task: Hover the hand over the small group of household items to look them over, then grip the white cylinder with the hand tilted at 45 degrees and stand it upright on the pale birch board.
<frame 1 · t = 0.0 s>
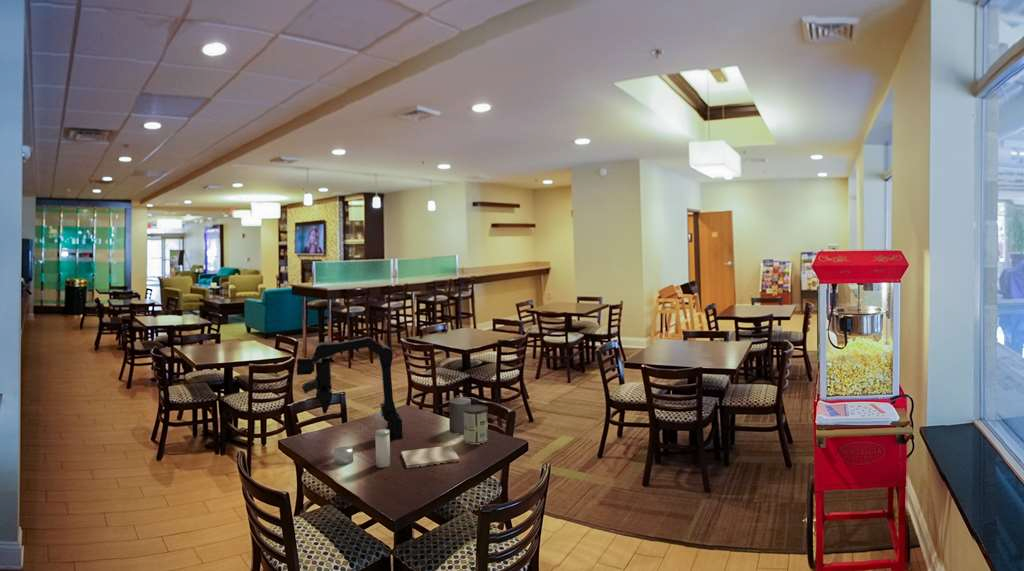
hand: (324, 410, 238), 15 cm above the table, tool pointing down, fingers open, 9 cm apart
birch board: (429, 457, 223), on the table
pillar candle: (460, 430, 256), on the table
grey tin: (343, 462, 220), on the table
coffee can: (475, 440, 243), on the table
white cylinder: (383, 464, 217), on the table
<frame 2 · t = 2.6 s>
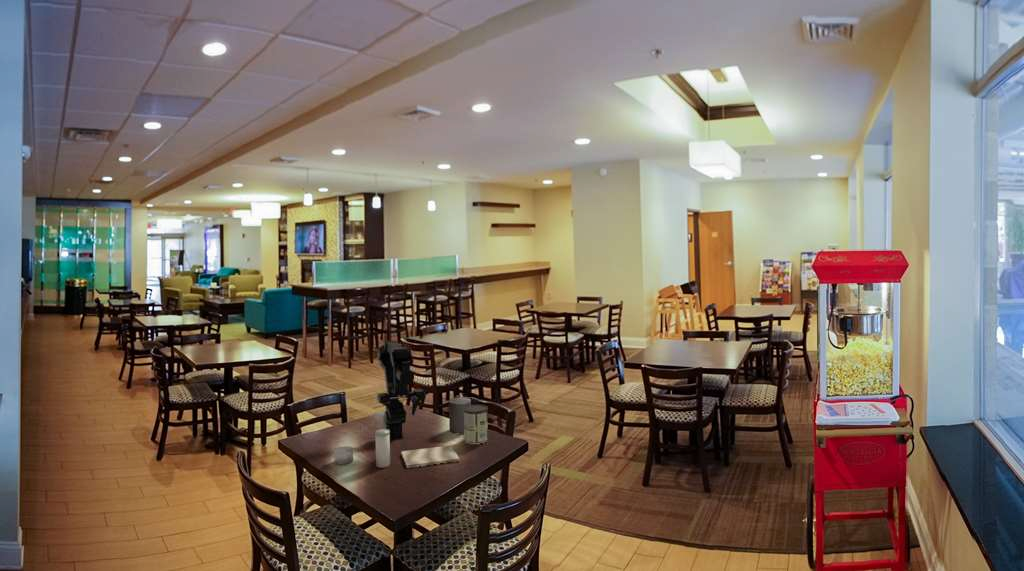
hand: (401, 416, 234), 13 cm above the table, tool pointing down, fingers open, 9 cm apart
nothing on the table moved.
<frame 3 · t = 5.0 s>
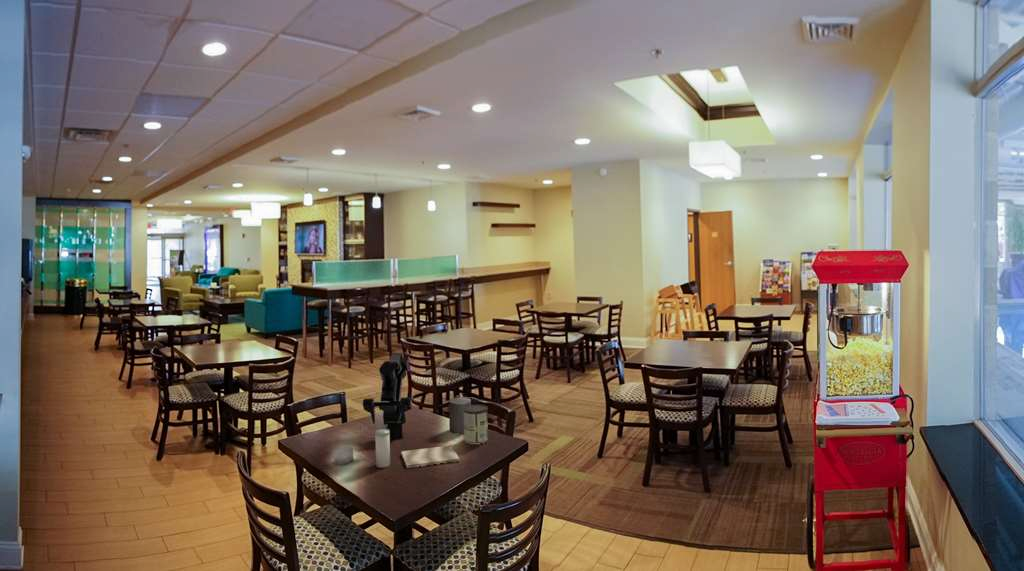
hand: (385, 423, 223), 14 cm above the table, tool tilted 45°, fingers open, 9 cm apart
nothing on the table moved.
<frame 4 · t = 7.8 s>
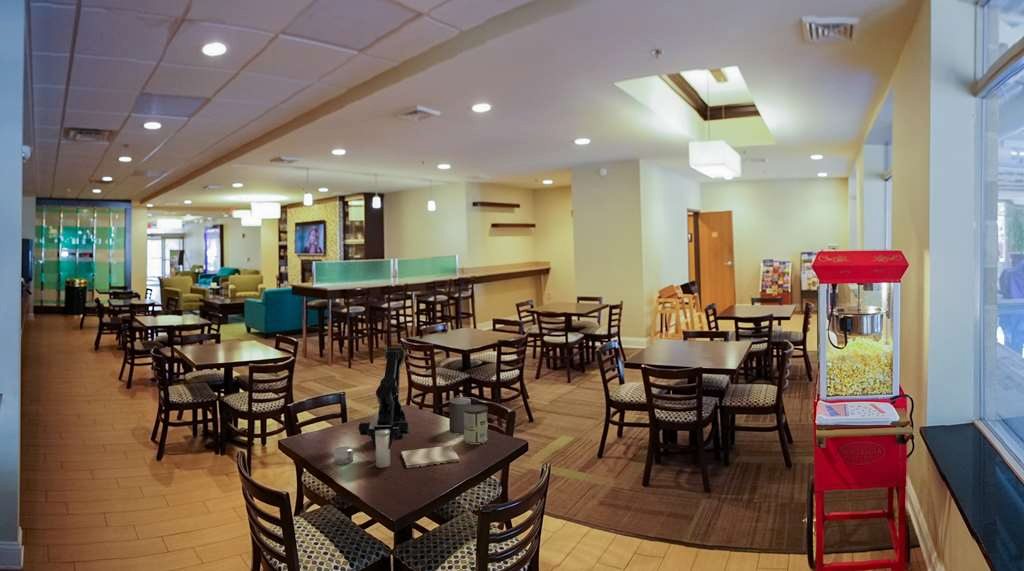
hand: (382, 449, 215), 7 cm above the table, tool tilted 45°, fingers closed on white cylinder, 5 cm apart
white cylinder: (383, 464, 217), on the table, touching gripper
everything else where it was.
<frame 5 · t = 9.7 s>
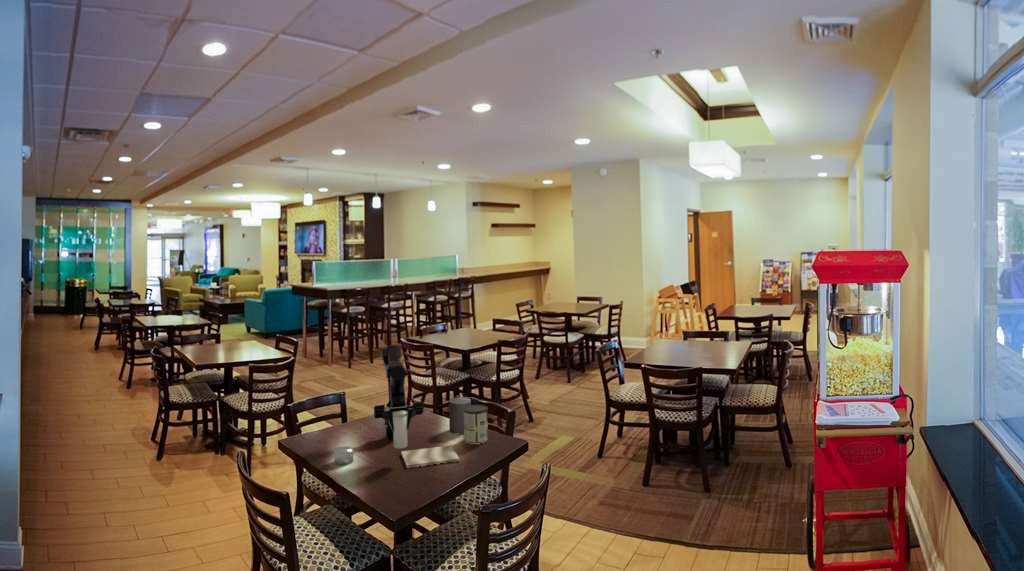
hand: (400, 430, 216), 13 cm above the table, tool tilted 45°, fingers closed on white cylinder, 5 cm apart
white cylinder: (400, 445, 218), point 7 cm above the table, touching gripper
everything else where it was.
when the fingers open (9 cm above the table, at t = 11.9 s): white cylinder drops 1 cm, resting on birch board.
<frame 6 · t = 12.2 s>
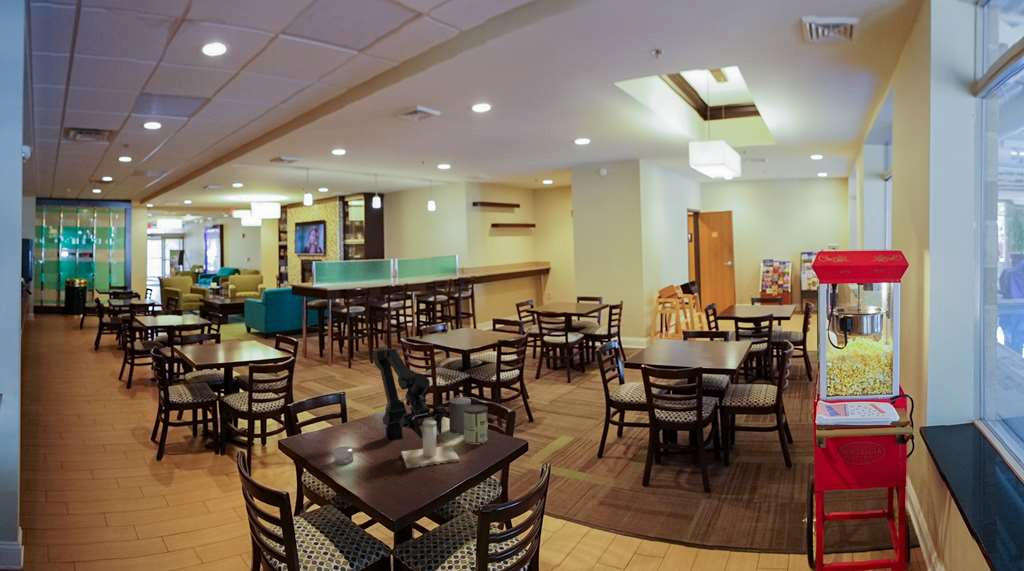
hand: (431, 435, 222), 9 cm above the table, tool tilted 45°, fingers open, 8 cm apart
white cylinder: (429, 454, 223), point 1 cm above the table, touching birch board
everything else where it was.
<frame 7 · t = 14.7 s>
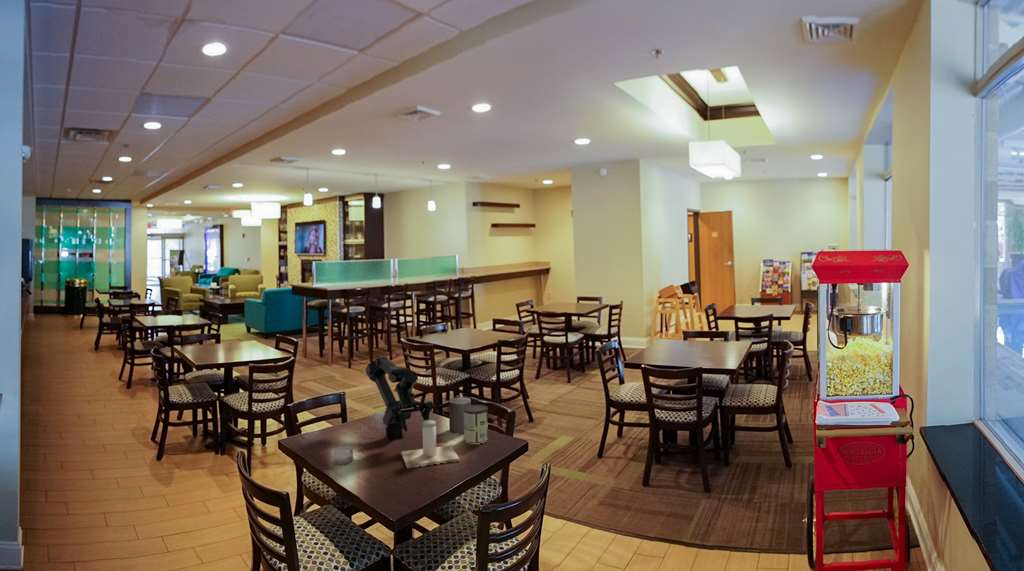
hand: (417, 429, 229), 9 cm above the table, tool tilted 40°, fingers open, 9 cm apart
nothing on the table moved.
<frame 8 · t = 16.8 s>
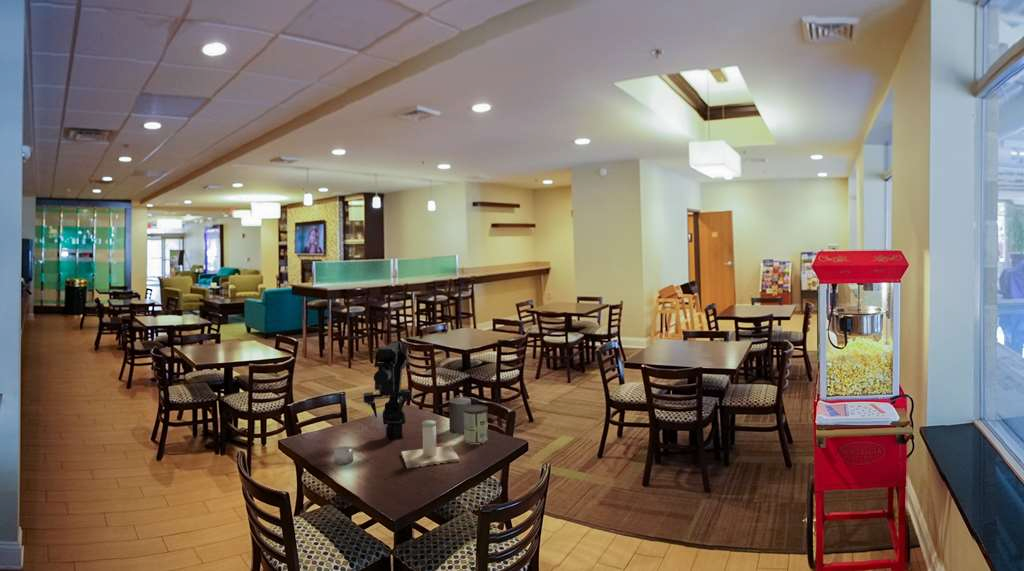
hand: (387, 416, 234), 13 cm above the table, tool pointing down, fingers open, 9 cm apart
nothing on the table moved.
at the end: white cylinder inside the target area on the birch board (0.1 cm from its centre), point 1.2 cm above the birch board's base; white cylinder tilted 0°; the gripper is holding nothing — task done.
